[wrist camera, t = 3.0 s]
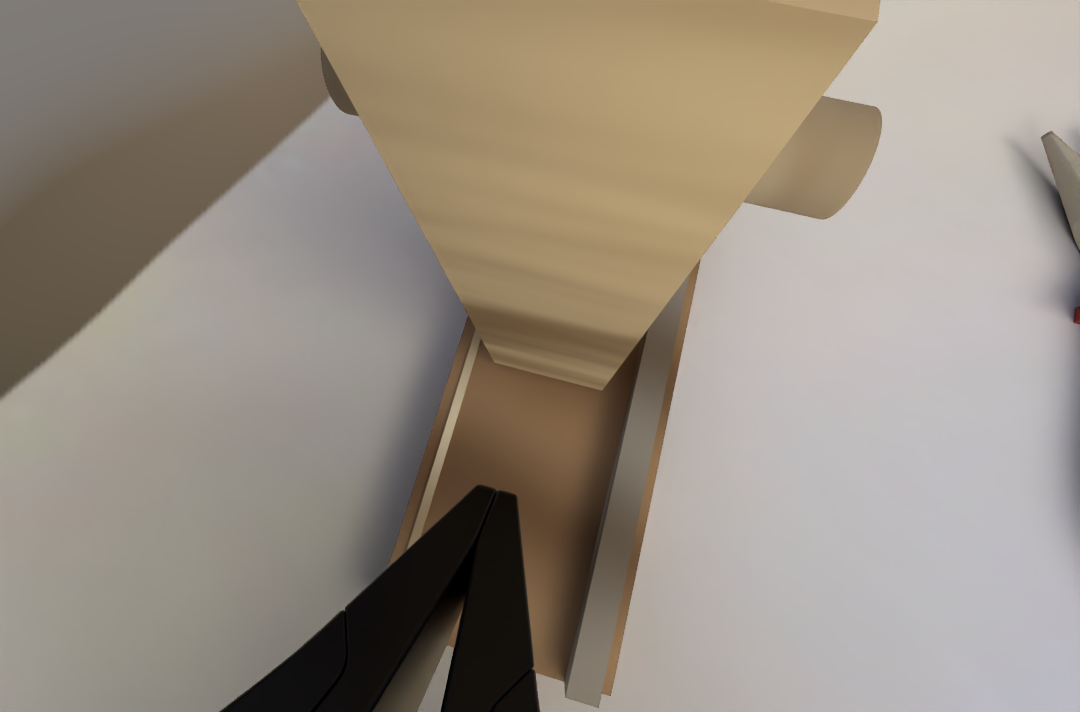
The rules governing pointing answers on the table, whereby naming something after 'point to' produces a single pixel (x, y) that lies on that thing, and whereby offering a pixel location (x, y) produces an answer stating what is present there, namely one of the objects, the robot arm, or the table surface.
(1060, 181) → the pliers
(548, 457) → the board
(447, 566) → the robot arm
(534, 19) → the beige boxy piece
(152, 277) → the table surface
